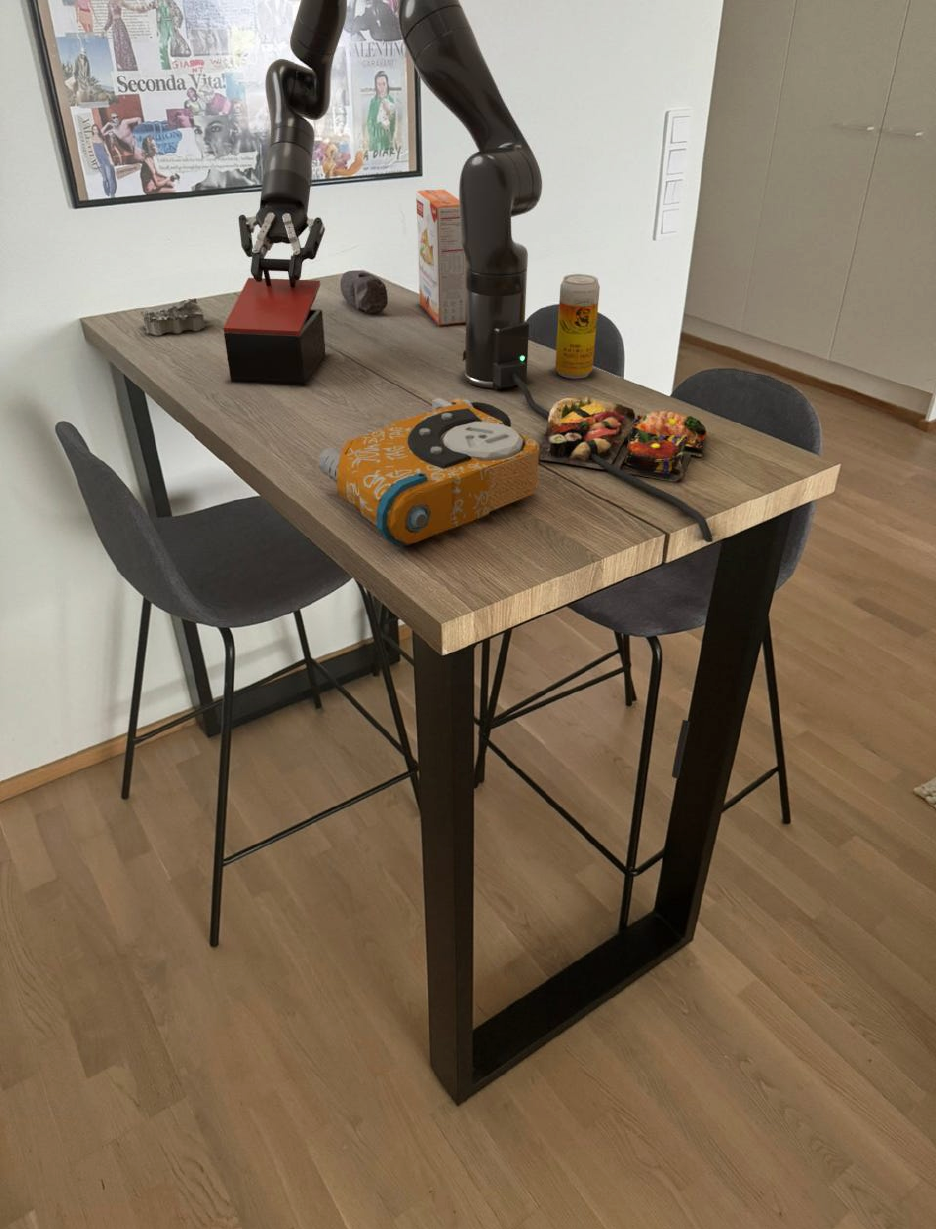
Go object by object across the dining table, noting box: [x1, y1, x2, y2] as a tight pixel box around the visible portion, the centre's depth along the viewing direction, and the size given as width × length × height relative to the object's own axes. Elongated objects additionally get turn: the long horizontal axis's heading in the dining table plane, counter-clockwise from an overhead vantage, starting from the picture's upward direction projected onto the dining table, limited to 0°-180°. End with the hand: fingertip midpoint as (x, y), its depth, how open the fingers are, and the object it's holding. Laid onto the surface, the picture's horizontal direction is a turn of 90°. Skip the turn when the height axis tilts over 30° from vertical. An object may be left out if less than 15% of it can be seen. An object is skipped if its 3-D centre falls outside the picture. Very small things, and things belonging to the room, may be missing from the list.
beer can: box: [554, 273, 601, 379], centre depth 142 cm, size 6×6×15 cm
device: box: [317, 397, 540, 547], centre depth 111 cm, size 23×8×30 cm
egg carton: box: [140, 298, 206, 337], centre depth 163 cm, size 11×8×4 cm
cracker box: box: [415, 189, 466, 327], centre depth 166 cm, size 14×6×21 cm, turn 17°
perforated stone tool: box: [340, 270, 389, 314], centre depth 173 cm, size 15×5×7 cm, turn 31°
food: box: [538, 395, 707, 483], centre depth 123 cm, size 22×19×4 cm
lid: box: [222, 257, 321, 336], centre depth 140 cm, size 15×12×5 cm
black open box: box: [223, 308, 327, 386], centre depth 145 cm, size 14×12×8 cm
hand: (275, 279), depth 141 cm, fingers closed on lid, 5 cm apart
